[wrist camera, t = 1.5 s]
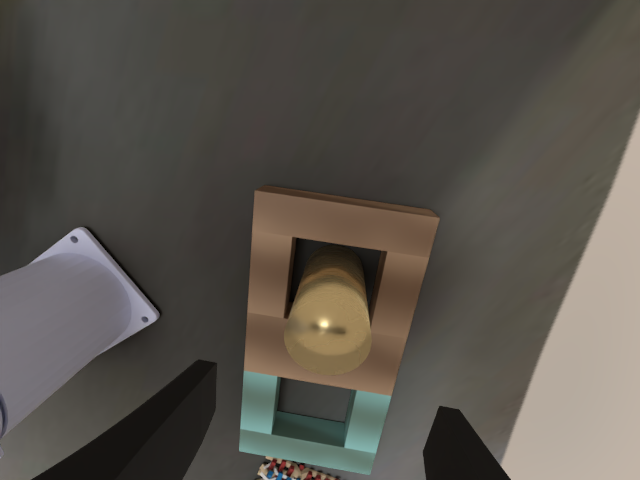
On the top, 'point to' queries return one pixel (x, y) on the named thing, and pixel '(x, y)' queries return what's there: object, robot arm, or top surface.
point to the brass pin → (330, 314)
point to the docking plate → (274, 309)
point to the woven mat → (289, 471)
